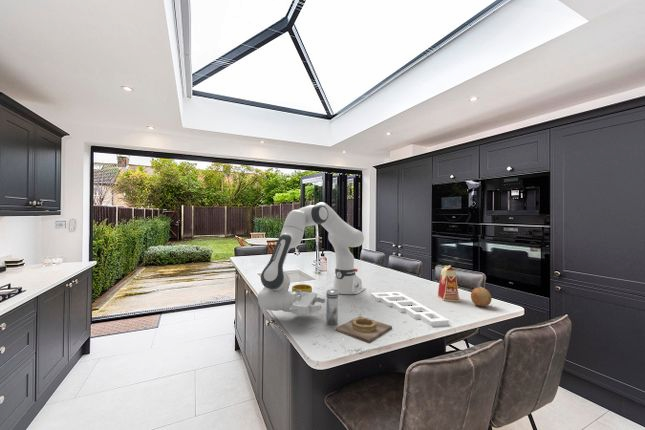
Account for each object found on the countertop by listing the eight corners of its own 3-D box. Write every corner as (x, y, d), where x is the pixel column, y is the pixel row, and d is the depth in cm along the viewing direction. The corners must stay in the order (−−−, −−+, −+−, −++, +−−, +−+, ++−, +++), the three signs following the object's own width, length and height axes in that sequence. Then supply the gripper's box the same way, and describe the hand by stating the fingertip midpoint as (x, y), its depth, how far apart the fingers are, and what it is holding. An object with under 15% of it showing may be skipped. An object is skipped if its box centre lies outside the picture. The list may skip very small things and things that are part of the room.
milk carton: (459, 301, 155) (460, 265, 155) (443, 301, 155) (443, 265, 155) (452, 296, 164) (453, 263, 164) (436, 296, 164) (437, 262, 164)
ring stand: (359, 318, 127) (360, 311, 127) (391, 328, 116) (392, 321, 116) (335, 330, 113) (335, 323, 113) (369, 342, 103) (369, 334, 103)
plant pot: (302, 310, 136) (302, 290, 136) (287, 305, 142) (287, 286, 142) (315, 305, 144) (316, 286, 144) (300, 301, 151) (301, 283, 151)
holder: (449, 326, 121) (449, 320, 121) (412, 329, 117) (412, 323, 117) (398, 296, 165) (399, 291, 165) (370, 297, 161) (370, 293, 161)
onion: (486, 310, 141) (487, 290, 141) (466, 305, 149) (467, 286, 149) (495, 307, 146) (495, 288, 146) (475, 302, 154) (475, 284, 154)
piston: (331, 319, 125) (331, 288, 125) (340, 322, 121) (340, 290, 121) (323, 322, 121) (324, 291, 121) (332, 326, 117) (333, 293, 117)
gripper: (285, 302, 114) (318, 304, 112) (298, 288, 134) (327, 290, 132) (285, 317, 114) (318, 320, 112) (298, 301, 134) (326, 304, 132)
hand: (323, 304), depth 122 cm, fingers open, 8 cm apart
